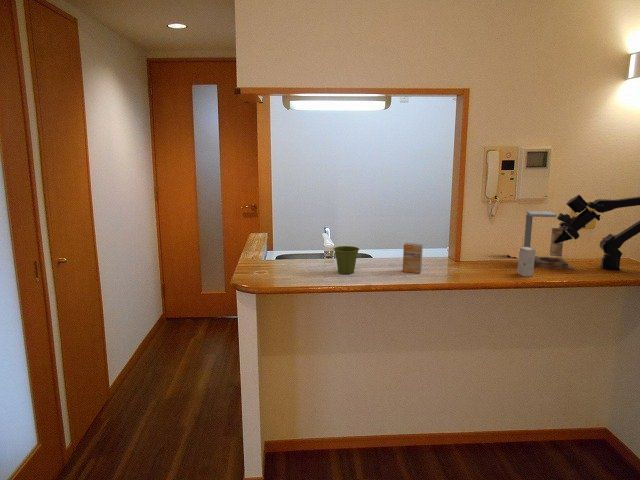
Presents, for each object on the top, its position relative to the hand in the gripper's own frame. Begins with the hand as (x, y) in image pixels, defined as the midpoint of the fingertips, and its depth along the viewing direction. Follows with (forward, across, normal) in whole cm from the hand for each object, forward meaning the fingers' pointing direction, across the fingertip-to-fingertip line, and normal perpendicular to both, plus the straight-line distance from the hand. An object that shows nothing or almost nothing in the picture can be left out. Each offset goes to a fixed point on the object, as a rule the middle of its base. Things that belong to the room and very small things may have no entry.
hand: (553, 241), depth 217 cm
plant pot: (+73, +42, -57) cm, 102 cm away
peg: (+4, 0, +6) cm, 7 cm away
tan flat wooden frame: (+9, 0, +7) cm, 11 cm away
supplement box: (+53, +32, -36) cm, 72 cm away
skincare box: (+18, +24, -2) cm, 30 cm away
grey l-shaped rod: (+13, 0, +3) cm, 13 cm away
